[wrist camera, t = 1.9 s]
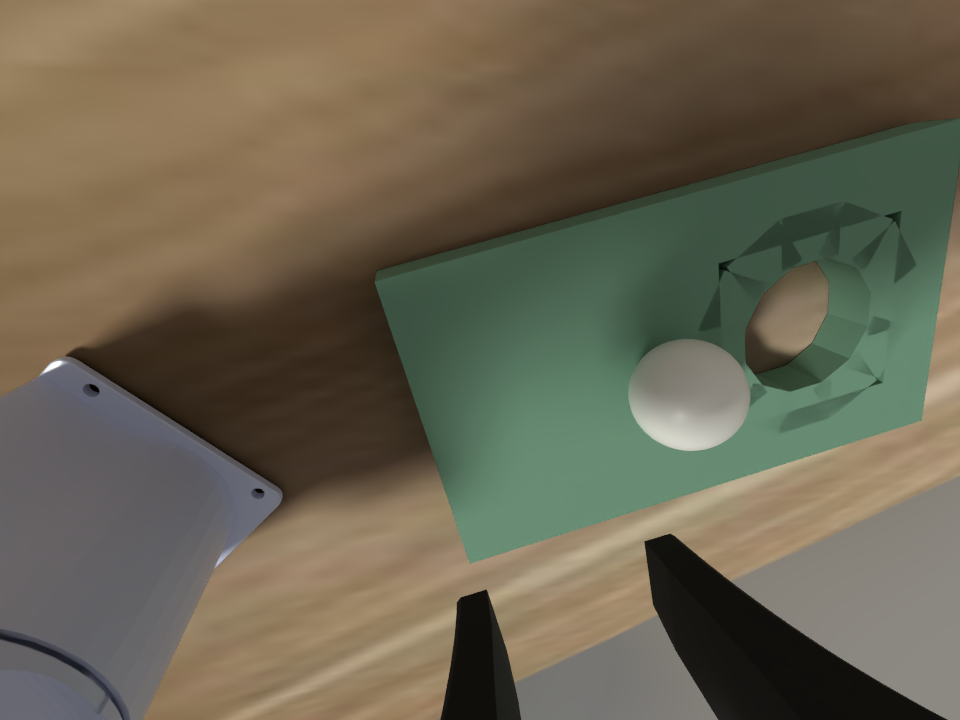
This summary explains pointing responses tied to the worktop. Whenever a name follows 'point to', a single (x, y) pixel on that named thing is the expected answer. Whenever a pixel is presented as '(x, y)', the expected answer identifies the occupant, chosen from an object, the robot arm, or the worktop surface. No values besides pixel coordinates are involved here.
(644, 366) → the ball
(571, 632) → the worktop surface
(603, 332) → the putting mat
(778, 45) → the worktop surface
